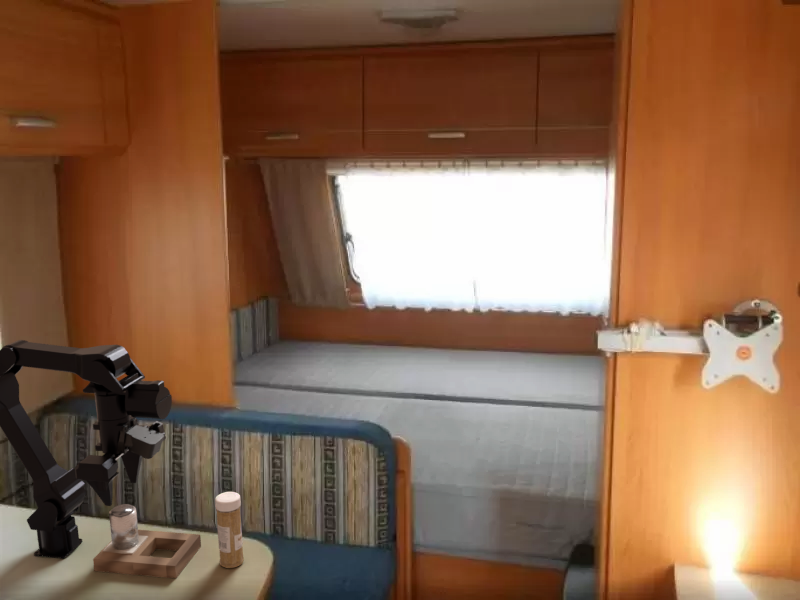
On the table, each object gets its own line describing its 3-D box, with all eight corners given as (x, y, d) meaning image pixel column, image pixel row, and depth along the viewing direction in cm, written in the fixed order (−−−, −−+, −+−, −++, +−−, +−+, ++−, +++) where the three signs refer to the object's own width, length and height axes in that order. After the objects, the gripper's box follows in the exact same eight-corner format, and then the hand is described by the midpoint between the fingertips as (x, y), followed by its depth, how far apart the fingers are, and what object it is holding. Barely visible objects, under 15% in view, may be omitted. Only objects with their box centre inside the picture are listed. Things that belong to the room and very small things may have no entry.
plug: (107, 548, 143) (103, 514, 141) (120, 535, 147) (117, 502, 146) (131, 551, 142) (127, 517, 140) (143, 537, 147) (140, 504, 145)
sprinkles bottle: (247, 564, 142) (244, 498, 139) (224, 571, 140) (220, 504, 137) (238, 553, 146) (234, 488, 143) (215, 560, 144) (211, 494, 141)
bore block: (94, 571, 140) (92, 557, 140) (124, 539, 151) (123, 527, 150) (176, 578, 138) (175, 564, 137) (201, 546, 149) (200, 533, 148)
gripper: (129, 437, 129) (137, 521, 132) (177, 399, 147) (183, 474, 150) (68, 434, 131) (78, 517, 134) (124, 396, 149) (131, 471, 152)
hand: (121, 493), depth 142 cm, fingers open, 9 cm apart
